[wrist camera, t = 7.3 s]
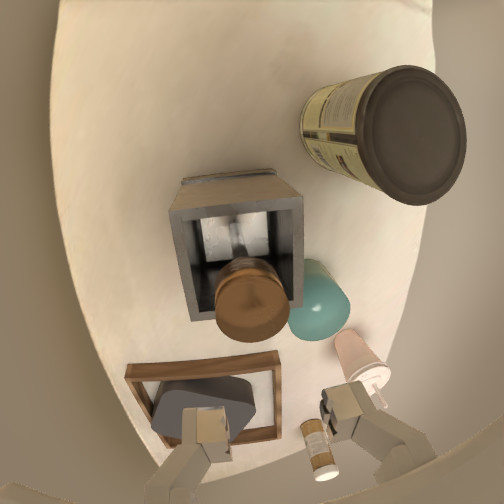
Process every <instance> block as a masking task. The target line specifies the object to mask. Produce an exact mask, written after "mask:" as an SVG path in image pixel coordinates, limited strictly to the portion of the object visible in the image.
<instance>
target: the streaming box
mask: <svg viewBox="0 0 504 504" xmlns="http://www.w3.org/2000/svg"><path fill="white" fill-rule="evenodd" d="M216 406H224V409H225V415H226V417H227V420H228V424H229V431H230V439H229V442H232V441H233V440H234V439H235V438H236V437H237V435H238V434H239V433H240V432H241V431H242V430H243V428H244V427H245V426H246V425H247V423H248V422H249V421H250V420H251V419H252V417H253V416H254V415H255V413H256V408H255V403H254V397H253V391H252V386H251V384H250V383H249V382H248V381H246V380H243V379H239V378H234V377H229V376H221V377H211V378H200V379H186V380H170V381H161V383H160V386H159V389H158V392H157V395H156V398H155V400H154V404H153V412H152V421H151V428H152V429H153V430H154V431H155V432H156V433H158V434H160V435H164V436H168V437H173V438H178V439H182V415H183V409H184V408H201V407H216Z"/></svg>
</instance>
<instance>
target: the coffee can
mask: <svg viewBox="0 0 504 504" xmlns="http://www.w3.org/2000/svg"><path fill="white" fill-rule="evenodd" d="M300 133H301V138H302V141H303V144H304V147H305V148H306V150H307V152H308V153H309V154H310V156H311V157H312V158H313V159H314V160H315V161H316V162H317V163H318V164H320V165H321V166H323V167H324V168H326V169H328V170H331V171H335V172H338V173H340V174H343V175H345V176H348V177H350V178H352V179H355V180H357V181H359V182H362V183H364V184H366V185H369V186H371V187H373V188H376V189H378V190H380V191H382V192H384V193H385V194H387V195H388V196H390V197H391V198H393V199H395V200H397V201H399V202H401V203H404V204H407V205H413V206H421V205H426V204H429V203H432V202H434V201H436V200H437V199H439V198H440V197H442V196H443V195H444V194H446V193H447V192H448V191H449V190H450V189H451V187H452V186H453V185H454V183H455V181H456V180H457V178H458V176H459V174H460V172H461V169H462V166H463V163H464V158H465V154H466V142H467V139H466V128H465V122H464V117H463V114H462V111H461V109H460V106H459V104H458V102H457V99H456V98H455V96H454V94H453V93H452V92H451V90H450V89H449V87H448V86H447V85H446V84H445V83H444V82H443V81H442V80H441V79H440V78H439V77H437V76H436V75H435V74H434V73H432V72H430V71H428V70H426V69H424V68H421V67H418V66H412V65H402V66H397V67H393V68H390V69H388V70H386V71H383V72H379V73H375V74H371V75H367V76H364V77H360V78H357V79H353V80H349V81H346V82H342V83H339V84H336V85H331V86H327V87H324V88H322V89H320V90H318V91H317V92H315V93H314V94H313V95H312V96H311V97H310V98H309V100H308V101H307V103H306V104H305V106H304V108H303V110H302V113H301V119H300Z"/></svg>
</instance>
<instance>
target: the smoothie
mask: <svg viewBox="0 0 504 504" xmlns="http://www.w3.org/2000/svg"><path fill="white" fill-rule="evenodd" d="M334 344H335V347H336V350H337V353H338V357H339V360H340V363H341V366H342V369H343V373H344V376H345V379H346V382H347V383H350V382H354V381H357V380H360V381H361V382H362V383H363V385H364V387H365V389H366V391H367V393H368V395H371V394H373V393H375V392H376V393H377V395H378V397H379V399H380V400H381V403H382V404H383V406H384V408H387V407H388V404H387V403H386V401H385V399H384V397H383V395H382V394H381V392H380V389H381V388H382V387H383V386H384V385H385V384H386V383H387V381H388V380H389V378H390V374H391V371H390V369H389V368H388V366H387V364H386V363H384V362H381V360H380V359H379V358H378V357H377V356H376V355H375V354H374V352H373V351H372V350H371V349H370V348H369V347H368V346H367V344H366V343H365V342H364V341H363V340H362V339H361V338H360V337H359V335H358V334H357V333H356V332H355V331H354V330H352V329H347V330H344V331H342V332H340V333H339V334H338V335H337V336H336V337H335V340H334Z"/></svg>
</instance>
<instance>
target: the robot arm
mask: <svg viewBox="0 0 504 504" xmlns="http://www.w3.org/2000/svg"><path fill="white" fill-rule="evenodd" d="M321 395H322V398H323V399H322V400H321V401H320V413H321V417H322V420H323V422H324V423H325V424H327V425H328V426H327V430H326V431H327V434H328V437H329V440H330V442H331V444H332V443H336V442H340V441H344V440H347V439H352V441H354V442H355V443H356V444H358V445H359V446H360V447H362V448H363V449H364V450H366V451H367V452H368V453H370V454H371V455H373V456H374V457H375V458H377V459H378V460H379V461H381V462H382V464H381V465H380V466H379V468H378V469H377V470H376V472H375V473H374V476H375V479H376V481H377V483H378V485H377V486H374V487H371V488H368V489H366V490H363V491H360V492H357V493H353V494H350V495H347V496H344V497H341V498H337V499H334V500H330V501H327V502H323V503H319V504H504V414H503V415H502V416H500V417H499V418H498V419H497V420H495V421H494V422H492V423H491V424H490V425H488V426H487V427H486V428H484V429H483V430H481V431H480V432H479V433H477V434H476V435H474V436H472V437H471V438H469V439H468V440H466V441H465V442H463V443H461V444H460V445H458V446H456V447H455V448H453V449H451V450H450V451H448V452H447V453H445V454H443V455H441V456H439V457H437V455H436V453H435V451H434V450H433V448H432V446H431V444H430V443H429V441H428V439H427V437H426V435H425V434H424V433H423V432H420V431H419V430H417V429H415V428H413V427H411V426H409V425H408V424H406V423H404V422H402V421H400V420H398V419H396V418H395V417H393V416H391V415H389V414H387V413H386V412H384V411H382V410H376V408H375V406H374V404H373V403H372V401H371V399H370V397H369V395H368V393H367V391H366V389H365V387H364V385H363V383H362V382H361V381H360V380H357V381H354V382H350V383H345V384H342V385H338V386H334V387H330V388H326V389H323V390H322V394H321ZM229 439H230V431H229V424H228V420H227V417H226V415H225V409H224V406H216V407H201V408H184V409H183V415H182V444H180V445H177V446H176V448H175V449H174V450H173V451H172V453H171V454H170V455H169V456H168V458H167V459H166V460H165V461H164V463H163V464H162V465H161V466H160V468H159V469H158V470H157V471H156V472H155V474H154V475H153V476H152V477H151V479H150V480H149V481H148V482H147V483H146V485H145V494H144V504H201V503H200V502H199V501H198V500H197V498H196V497H195V496H194V495H193V494H194V492H195V490H196V489H197V487H198V486H199V484H200V482H201V481H202V479H203V477H204V476H205V474H206V472H207V471H208V469H209V467H210V466H211V463H220V462H230V461H233V460H232V450H231V445H230V442H229ZM0 504H78V503H75V502H71V501H67V500H64V499H61V498H57V497H54V496H51V495H48V494H45V493H42V492H39V491H37V490H34V489H31V488H29V487H26V486H24V485H21V484H19V483H16V482H9V483H8V484H6V485H4V486H3V487H1V488H0Z"/></svg>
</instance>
